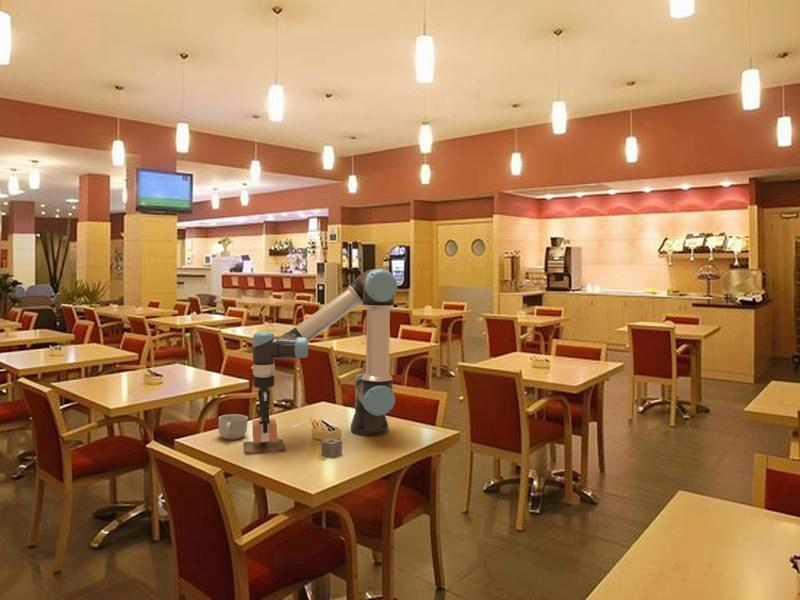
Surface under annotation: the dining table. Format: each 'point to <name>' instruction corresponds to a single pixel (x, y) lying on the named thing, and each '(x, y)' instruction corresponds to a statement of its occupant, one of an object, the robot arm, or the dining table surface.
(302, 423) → the butter knife
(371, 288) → the robot arm
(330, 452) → the dice cube
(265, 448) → the brown base with post
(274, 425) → the pink upright block
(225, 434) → the teacup
